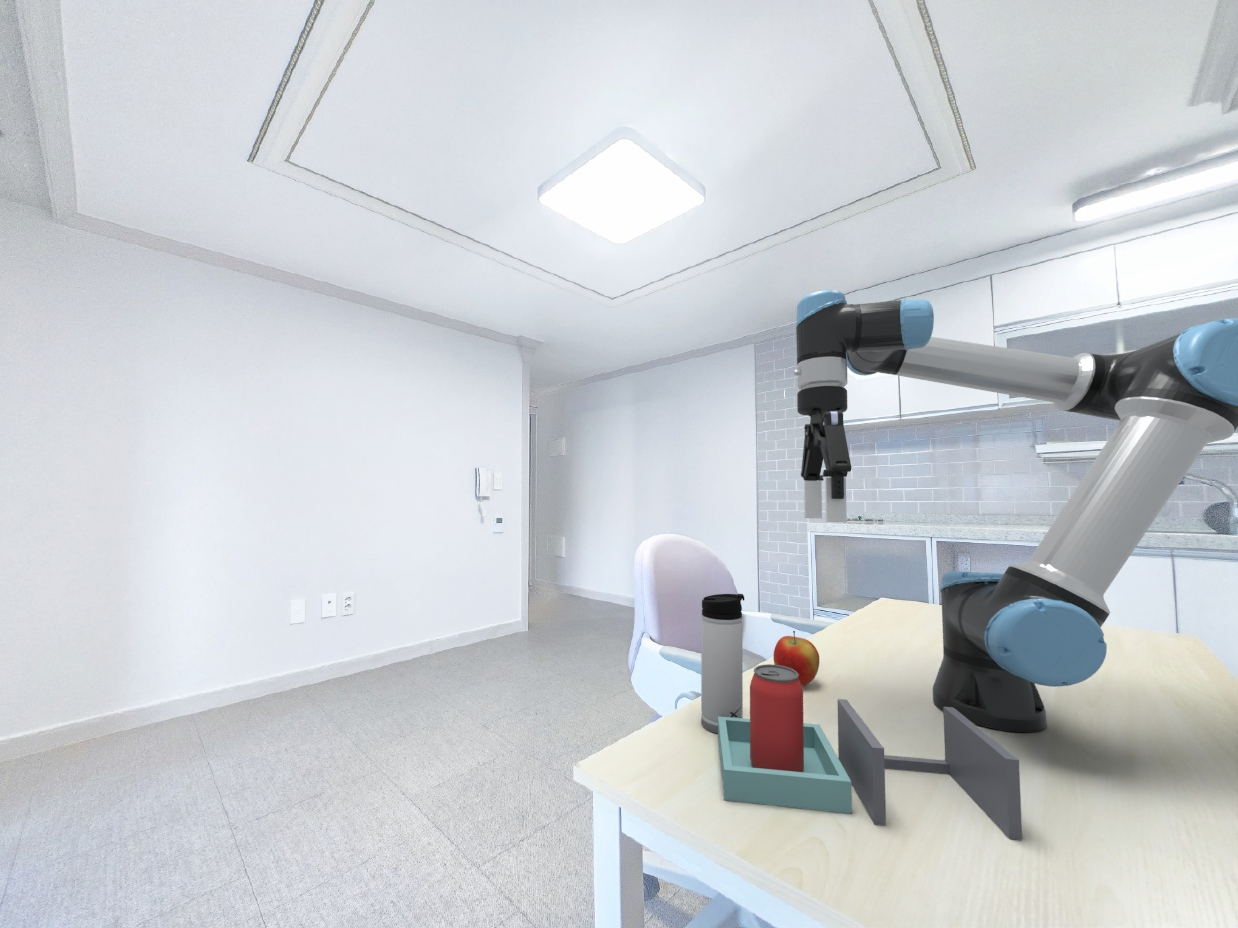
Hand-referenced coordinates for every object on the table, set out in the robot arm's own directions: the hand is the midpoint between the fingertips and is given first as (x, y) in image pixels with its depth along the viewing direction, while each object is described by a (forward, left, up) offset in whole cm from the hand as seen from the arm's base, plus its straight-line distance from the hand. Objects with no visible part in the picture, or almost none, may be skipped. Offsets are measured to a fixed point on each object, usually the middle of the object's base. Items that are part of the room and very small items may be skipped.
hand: (823, 520), depth 78 cm
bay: (-6, +17, -32) cm, 36 cm away
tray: (+10, +15, -32) cm, 36 cm away
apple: (+1, -17, -32) cm, 36 cm away
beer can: (+10, +15, -31) cm, 36 cm away
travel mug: (+16, +3, -32) cm, 36 cm away
